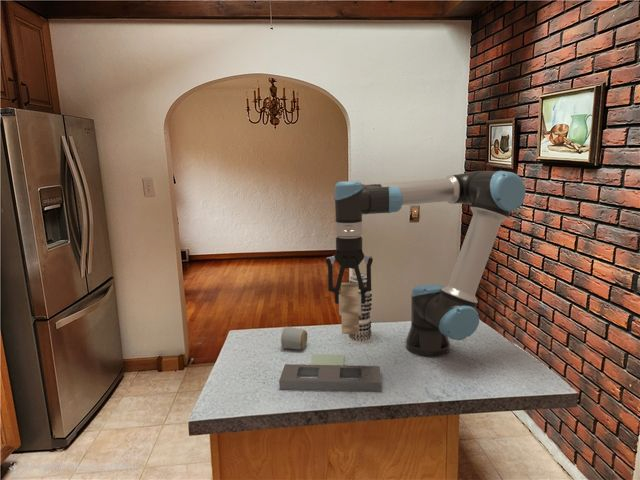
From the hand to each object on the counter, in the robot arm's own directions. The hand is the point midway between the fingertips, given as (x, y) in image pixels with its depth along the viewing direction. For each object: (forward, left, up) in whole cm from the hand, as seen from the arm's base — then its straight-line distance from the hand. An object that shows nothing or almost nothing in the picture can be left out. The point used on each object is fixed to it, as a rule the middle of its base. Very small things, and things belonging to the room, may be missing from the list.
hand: (350, 313), depth 122 cm
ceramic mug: (+21, -25, -22) cm, 39 cm away
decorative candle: (-3, -32, -22) cm, 39 cm away
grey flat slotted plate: (+6, 0, -22) cm, 23 cm away
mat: (+8, -12, -22) cm, 26 cm away
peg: (0, 0, -5) cm, 5 cm away
